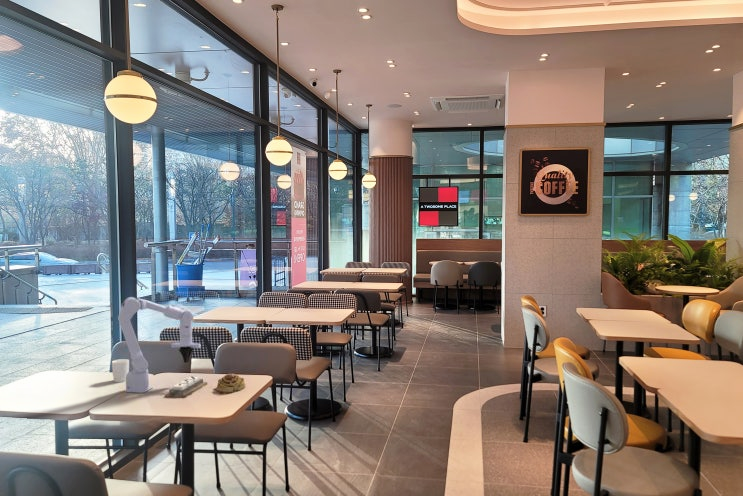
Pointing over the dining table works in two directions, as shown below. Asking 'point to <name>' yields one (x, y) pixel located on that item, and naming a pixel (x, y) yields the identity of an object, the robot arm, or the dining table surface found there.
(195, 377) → the tile three
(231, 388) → the pastry
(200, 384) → the board
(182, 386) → the tile one
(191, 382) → the tile two
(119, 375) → the white cup
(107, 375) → the dining table surface
